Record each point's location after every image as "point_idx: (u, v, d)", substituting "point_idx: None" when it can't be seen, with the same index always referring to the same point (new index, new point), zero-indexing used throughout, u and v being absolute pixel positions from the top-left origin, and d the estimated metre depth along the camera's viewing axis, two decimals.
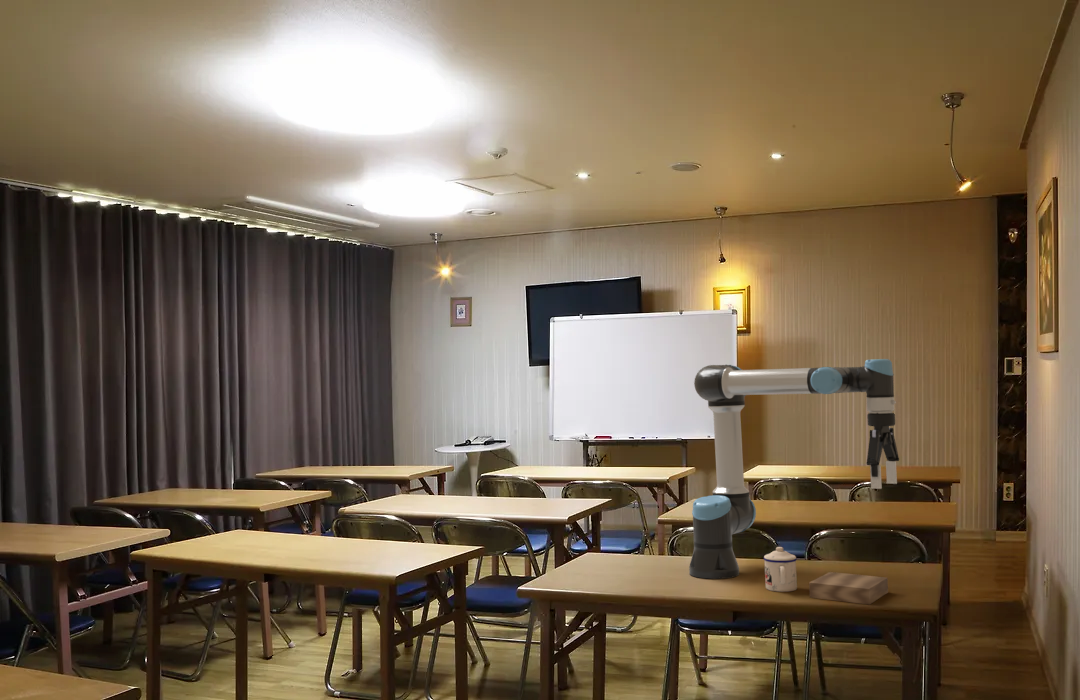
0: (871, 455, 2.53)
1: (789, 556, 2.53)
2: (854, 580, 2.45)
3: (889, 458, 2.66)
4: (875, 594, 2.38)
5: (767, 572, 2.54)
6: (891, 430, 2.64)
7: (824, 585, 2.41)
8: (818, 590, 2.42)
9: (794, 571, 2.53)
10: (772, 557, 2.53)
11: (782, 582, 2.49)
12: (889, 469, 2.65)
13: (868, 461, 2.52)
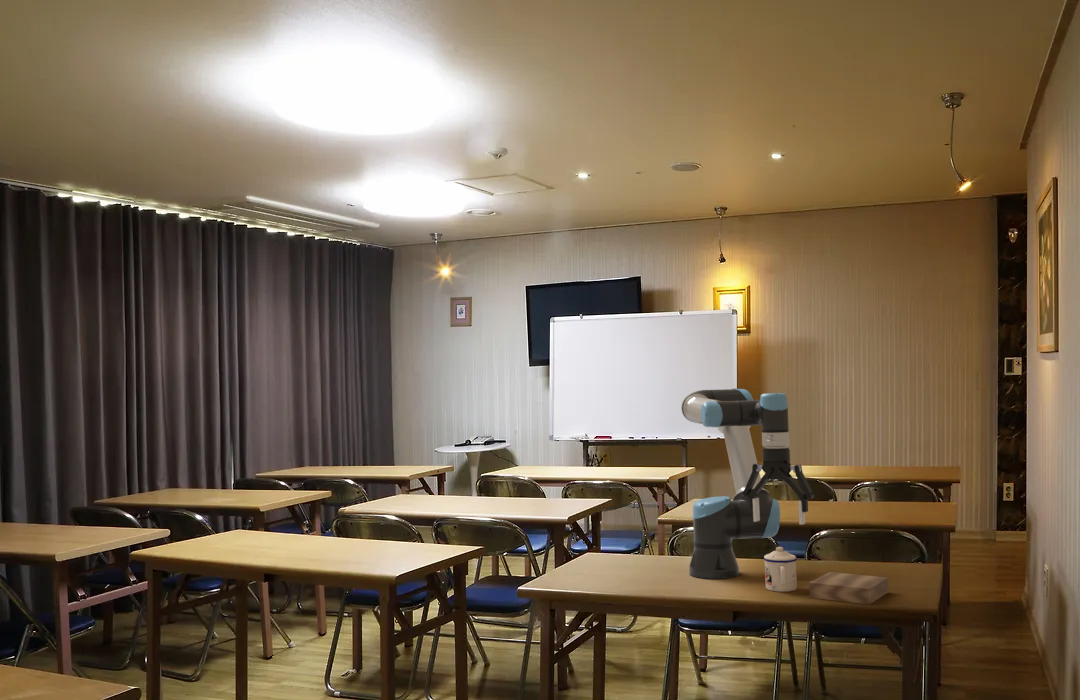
0: None
1: (789, 556, 2.53)
2: (854, 580, 2.45)
3: None
4: (875, 594, 2.38)
5: (767, 572, 2.54)
6: None
7: (824, 585, 2.41)
8: (818, 590, 2.42)
9: (794, 571, 2.53)
10: (772, 557, 2.53)
11: (782, 582, 2.49)
12: None
13: None
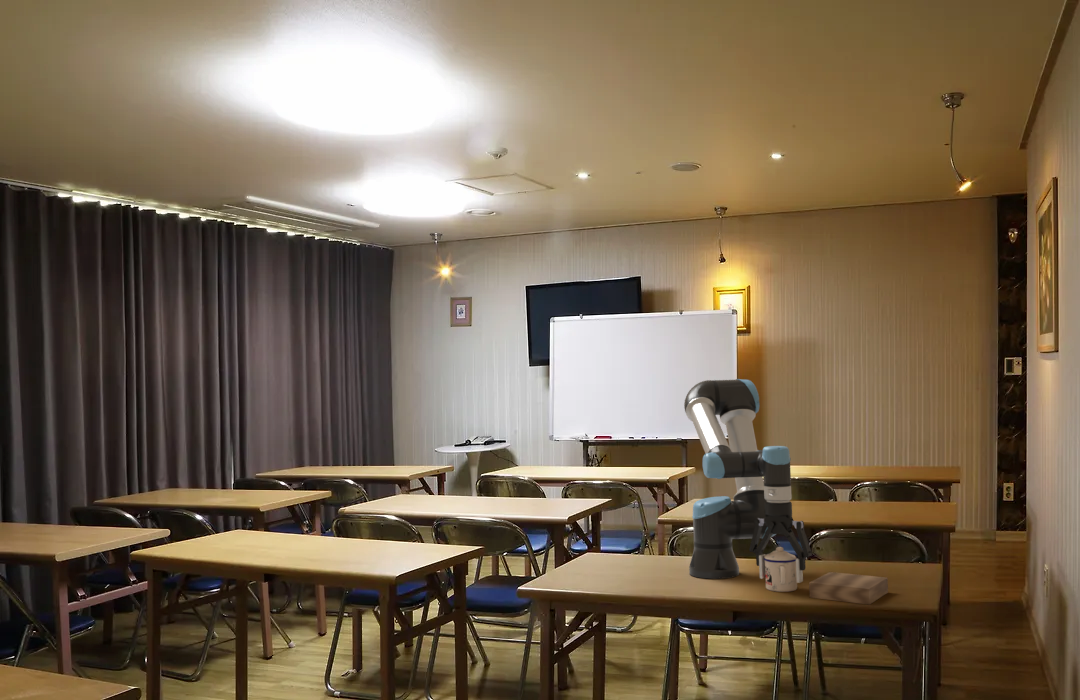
0: None
1: (789, 556, 2.53)
2: (854, 580, 2.45)
3: None
4: (875, 594, 2.38)
5: (767, 572, 2.54)
6: None
7: (824, 585, 2.41)
8: (818, 590, 2.42)
9: (794, 571, 2.53)
10: (772, 557, 2.53)
11: (782, 582, 2.49)
12: None
13: None
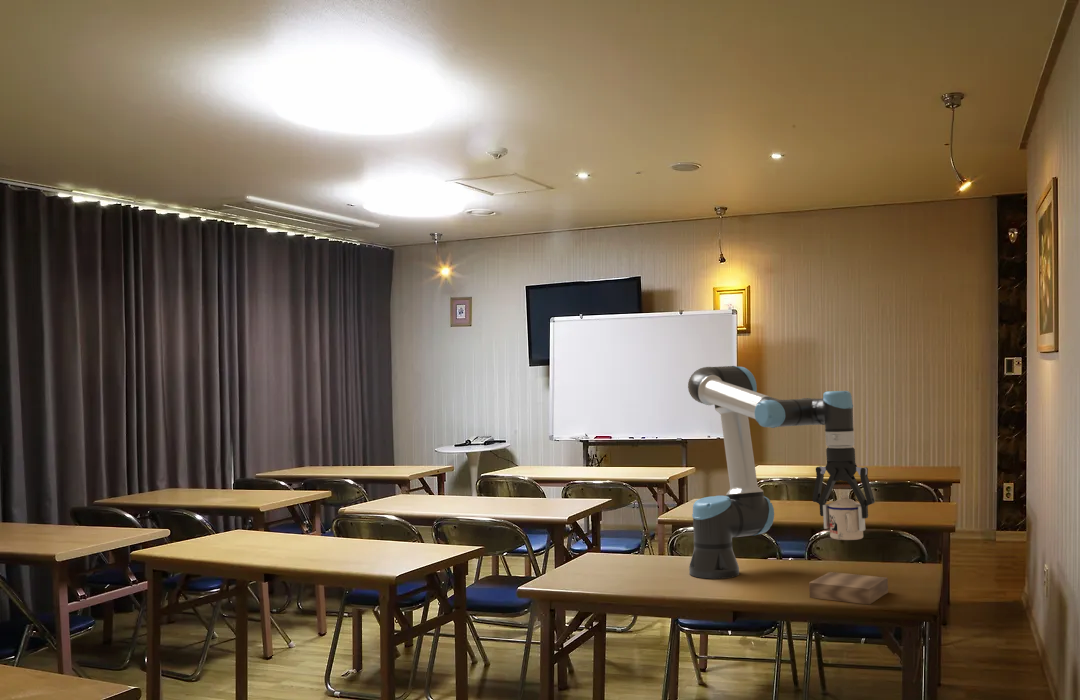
0: None
1: (855, 503, 2.45)
2: (854, 580, 2.45)
3: None
4: (875, 594, 2.38)
5: (832, 520, 2.46)
6: (861, 470, 2.43)
7: (824, 585, 2.41)
8: (818, 590, 2.42)
9: None
10: (837, 505, 2.45)
11: (849, 529, 2.41)
12: None
13: None
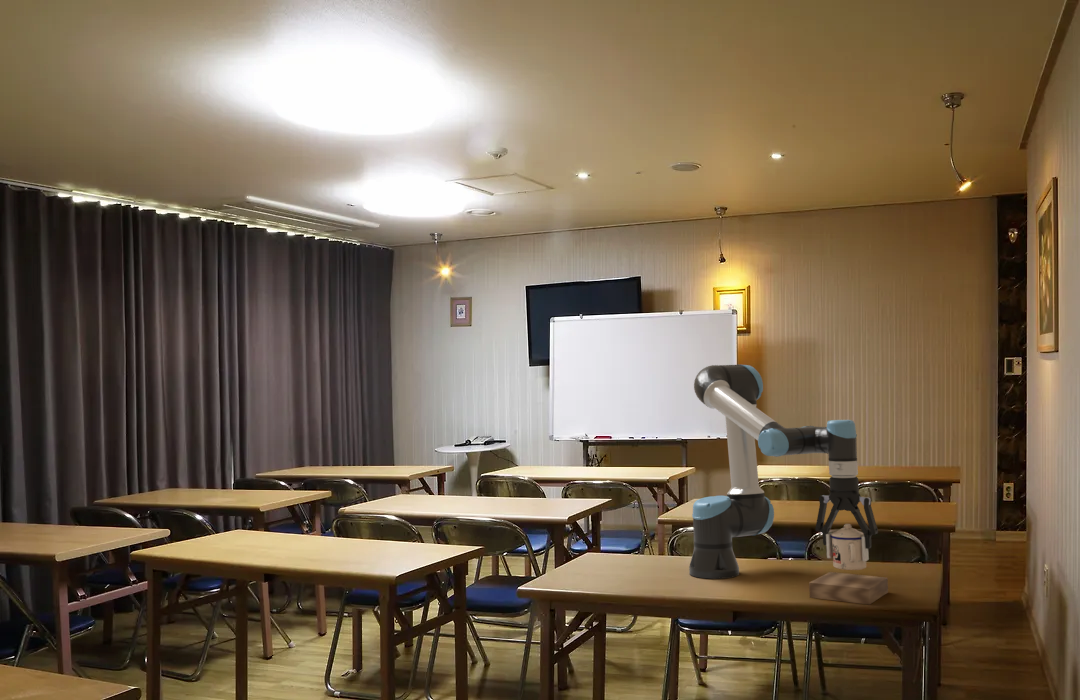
0: None
1: (858, 533, 2.44)
2: (854, 580, 2.45)
3: None
4: (875, 594, 2.38)
5: (835, 550, 2.45)
6: (864, 500, 2.42)
7: (824, 585, 2.41)
8: (818, 590, 2.42)
9: None
10: (841, 534, 2.45)
11: (852, 560, 2.40)
12: None
13: None
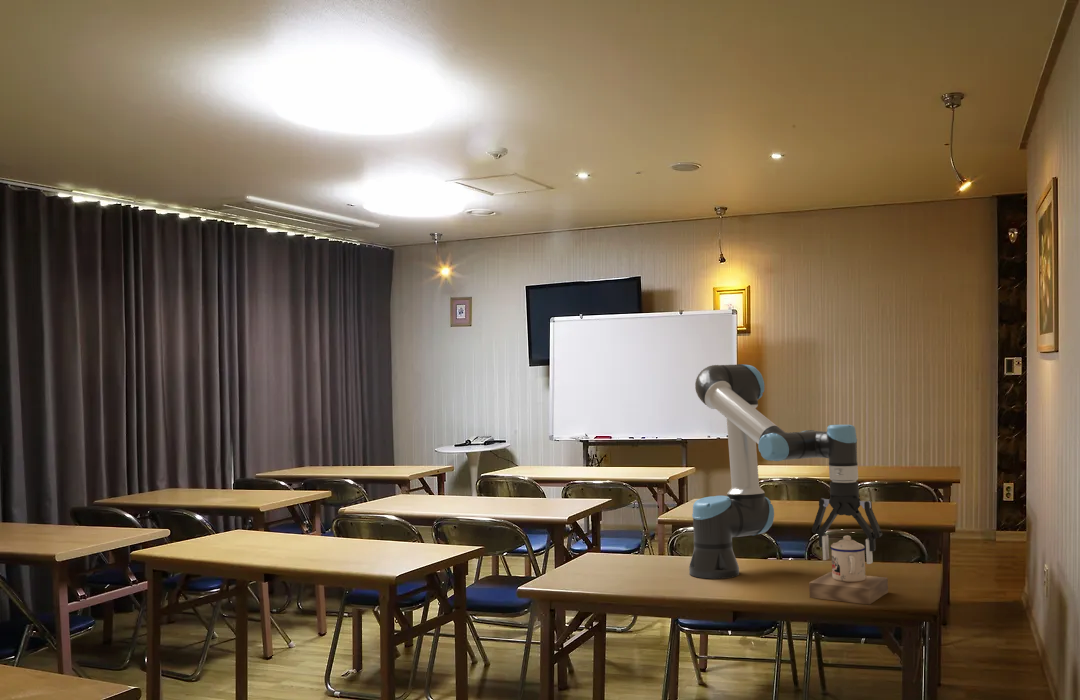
0: None
1: (858, 545, 2.44)
2: None
3: None
4: (875, 594, 2.38)
5: (835, 562, 2.46)
6: None
7: (824, 585, 2.41)
8: (818, 590, 2.42)
9: (863, 561, 2.44)
10: (840, 546, 2.44)
11: (852, 572, 2.40)
12: None
13: None
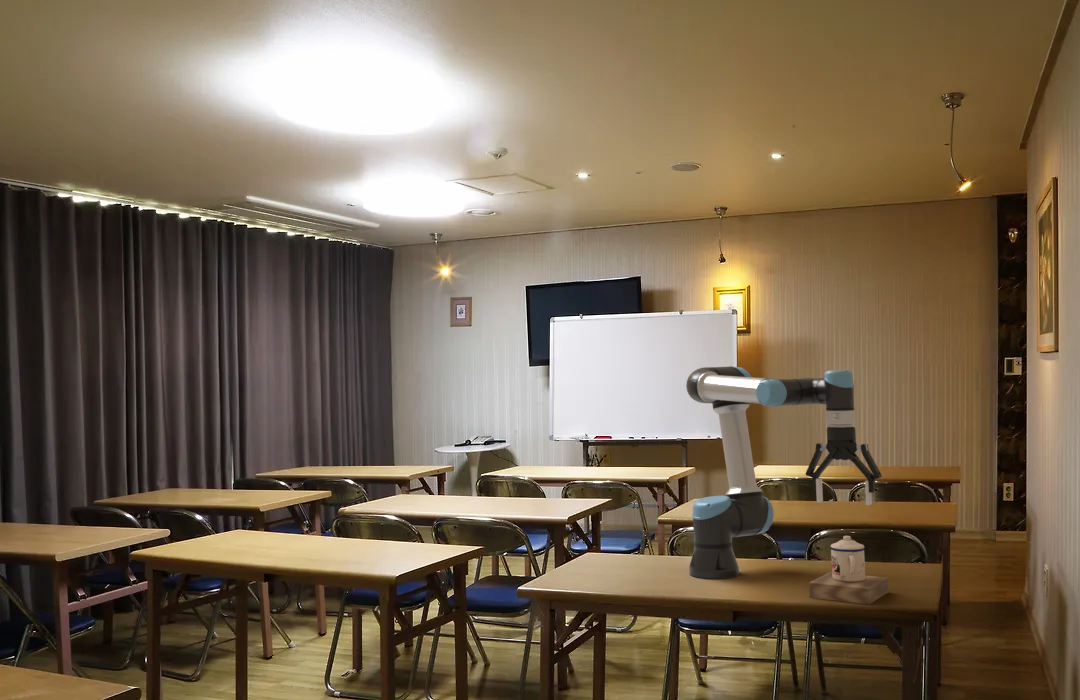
0: None
1: (858, 545, 2.45)
2: None
3: None
4: (875, 594, 2.38)
5: (835, 562, 2.46)
6: (861, 446, 2.44)
7: (824, 585, 2.41)
8: (818, 590, 2.42)
9: (863, 560, 2.44)
10: (840, 546, 2.45)
11: (852, 572, 2.41)
12: None
13: None
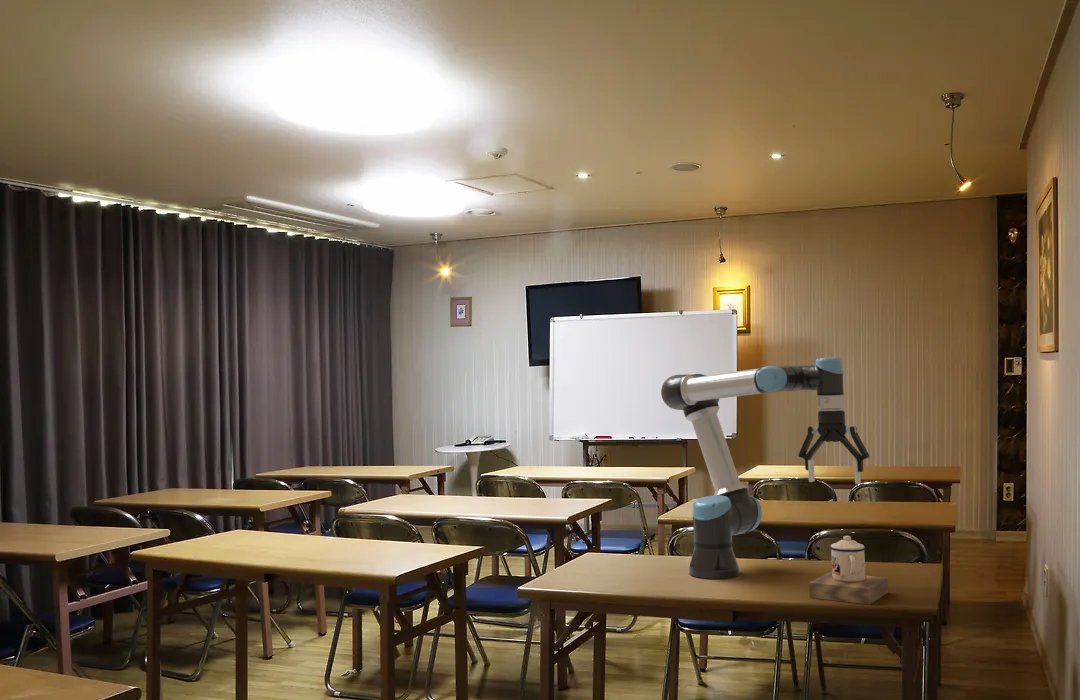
0: None
1: (858, 545, 2.45)
2: None
3: None
4: (875, 594, 2.38)
5: (835, 562, 2.46)
6: None
7: (824, 585, 2.41)
8: (818, 590, 2.42)
9: (863, 561, 2.44)
10: (840, 546, 2.45)
11: (852, 572, 2.41)
12: None
13: None
